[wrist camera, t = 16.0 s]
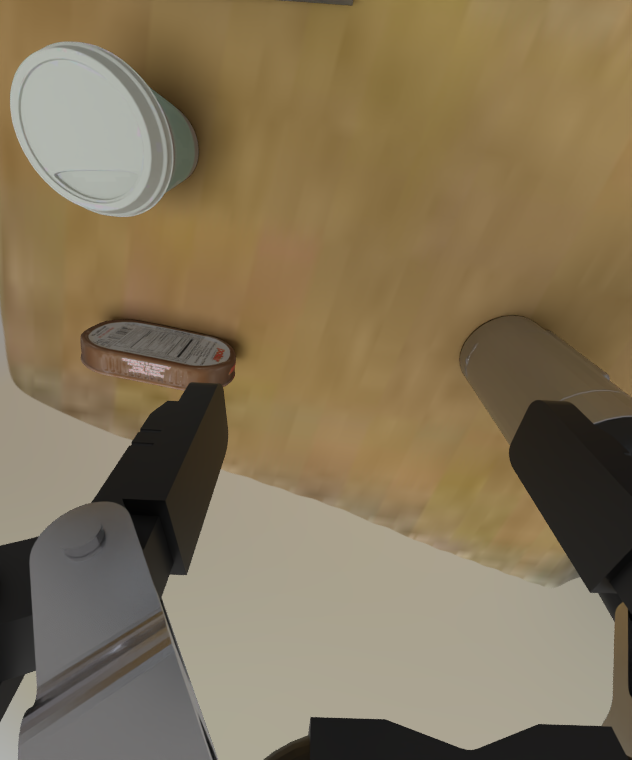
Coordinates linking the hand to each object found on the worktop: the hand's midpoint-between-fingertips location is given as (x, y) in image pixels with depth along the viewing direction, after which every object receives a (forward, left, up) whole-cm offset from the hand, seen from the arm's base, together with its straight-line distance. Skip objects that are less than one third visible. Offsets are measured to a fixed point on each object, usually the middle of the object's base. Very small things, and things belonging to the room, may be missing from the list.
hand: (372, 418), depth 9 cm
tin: (+17, +12, -28) cm, 35 cm away
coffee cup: (+15, -6, -28) cm, 33 cm away
